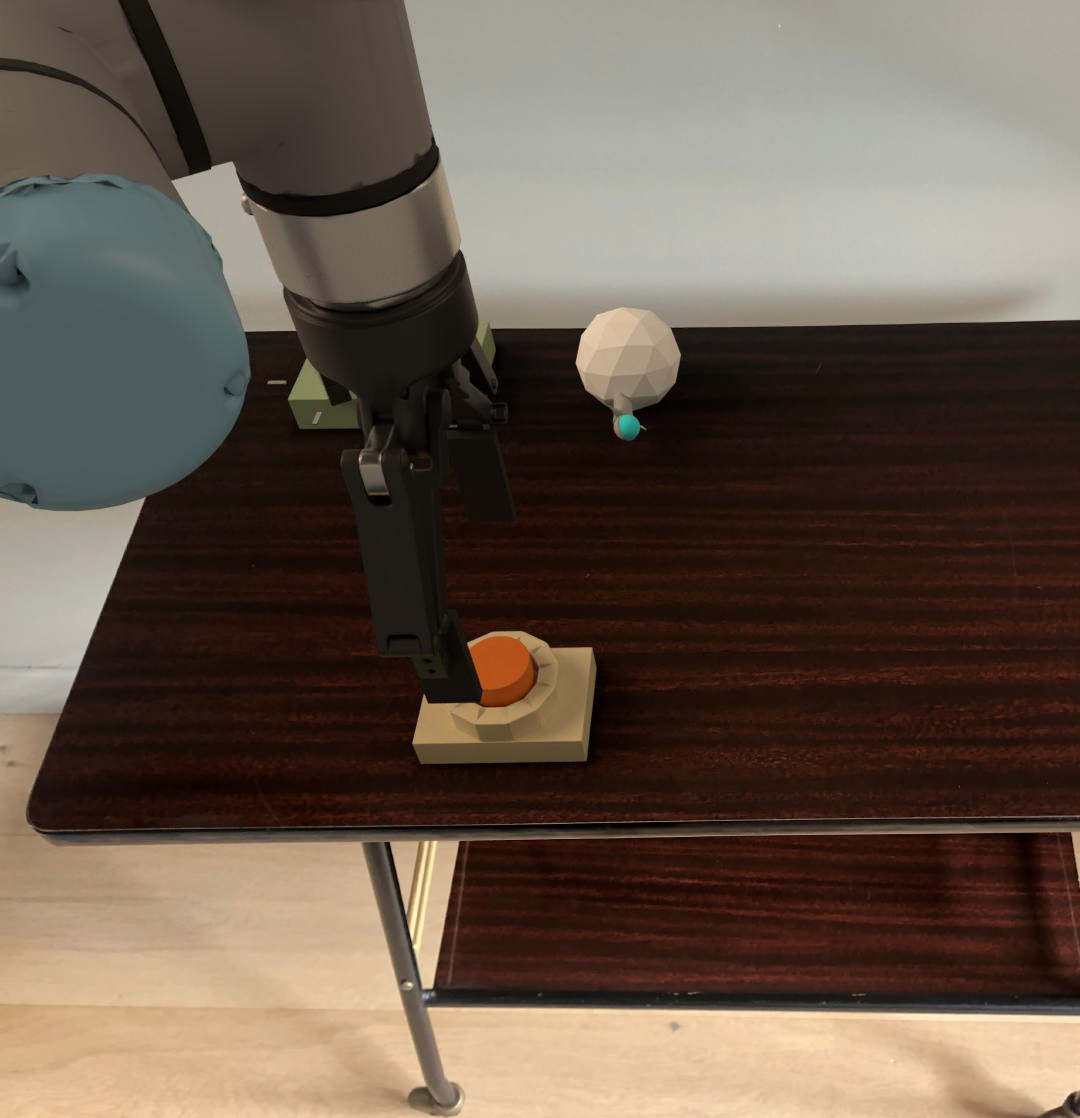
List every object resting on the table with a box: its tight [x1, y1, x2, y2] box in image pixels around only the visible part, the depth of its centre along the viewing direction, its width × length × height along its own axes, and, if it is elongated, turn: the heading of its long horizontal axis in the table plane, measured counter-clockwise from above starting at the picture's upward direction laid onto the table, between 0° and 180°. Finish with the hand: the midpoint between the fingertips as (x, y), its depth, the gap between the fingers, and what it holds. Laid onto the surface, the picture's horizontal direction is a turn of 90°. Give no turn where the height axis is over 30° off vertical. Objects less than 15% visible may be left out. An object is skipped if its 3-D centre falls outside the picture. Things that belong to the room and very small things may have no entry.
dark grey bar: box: [281, 283, 352, 406], centre depth 85 cm, size 6×2×9 cm, turn 28°
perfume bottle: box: [575, 306, 682, 441], centre depth 87 cm, size 8×8×12 cm
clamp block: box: [267, 320, 497, 430], centre depth 91 cm, size 16×13×3 cm
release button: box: [469, 636, 534, 707], centre depth 67 cm, size 4×4×2 cm
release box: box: [412, 630, 598, 765], centre depth 69 cm, size 10×7×4 cm
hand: (475, 601), depth 63 cm, fingers open, 12 cm apart
